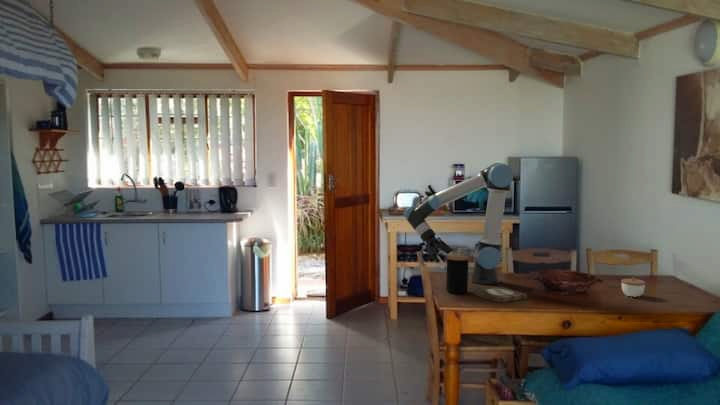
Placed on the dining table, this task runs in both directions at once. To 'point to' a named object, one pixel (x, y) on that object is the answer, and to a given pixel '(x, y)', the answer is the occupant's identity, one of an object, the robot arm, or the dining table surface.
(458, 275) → the coffee jar
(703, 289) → the dining table surface
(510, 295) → the walnut board
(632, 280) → the lidded jar
